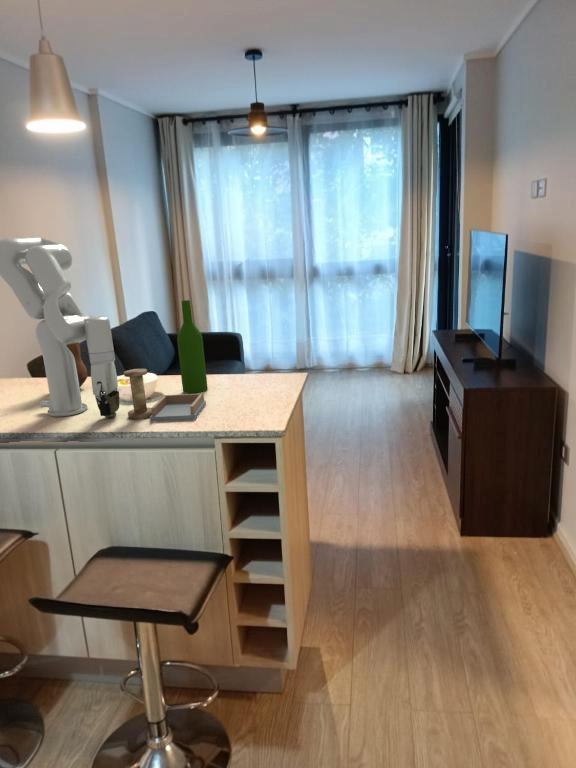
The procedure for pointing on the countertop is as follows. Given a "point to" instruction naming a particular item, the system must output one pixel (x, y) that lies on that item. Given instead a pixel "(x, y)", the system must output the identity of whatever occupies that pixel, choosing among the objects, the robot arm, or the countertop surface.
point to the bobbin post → (138, 394)
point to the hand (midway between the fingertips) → (110, 411)
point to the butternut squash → (78, 362)
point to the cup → (112, 403)
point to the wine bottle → (191, 354)
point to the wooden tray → (178, 407)
